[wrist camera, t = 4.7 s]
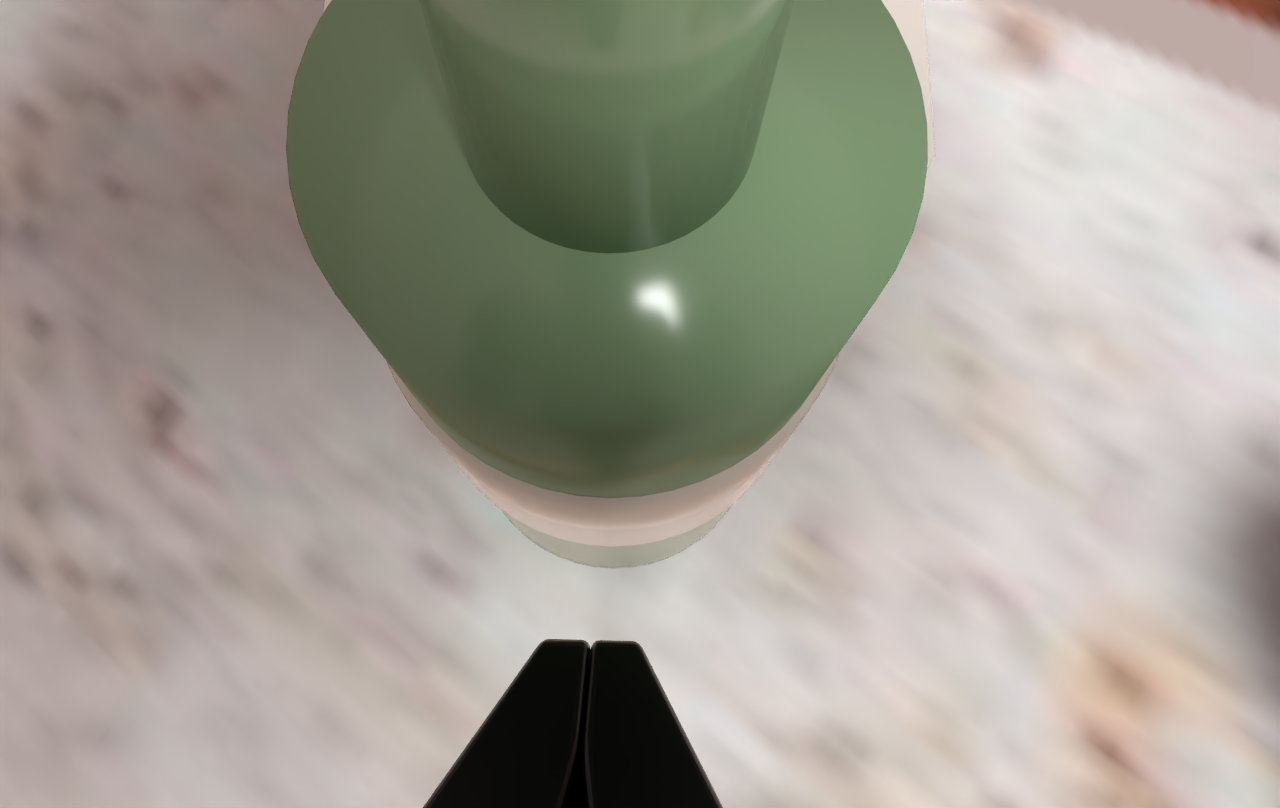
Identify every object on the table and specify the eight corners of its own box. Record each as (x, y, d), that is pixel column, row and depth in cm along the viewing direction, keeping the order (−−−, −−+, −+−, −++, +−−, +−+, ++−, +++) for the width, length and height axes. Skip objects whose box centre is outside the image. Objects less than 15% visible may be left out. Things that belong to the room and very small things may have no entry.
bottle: (667, 629, 17) (1380, 124, 1) (416, 478, 18) (-1423, -1201, 2) (805, 382, 19) (2005, -1429, 3) (569, 251, 20) (314, -1820, 3)
